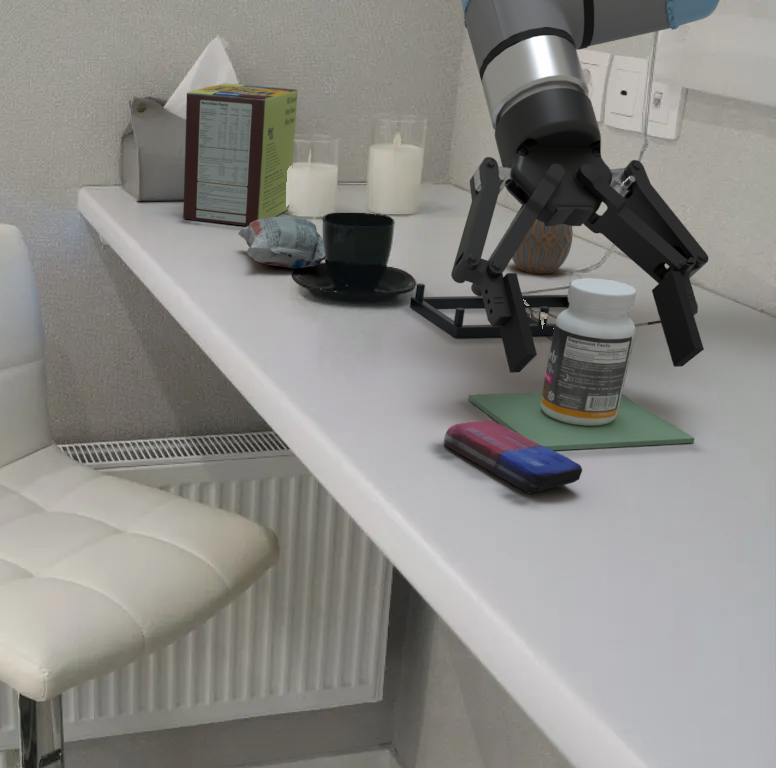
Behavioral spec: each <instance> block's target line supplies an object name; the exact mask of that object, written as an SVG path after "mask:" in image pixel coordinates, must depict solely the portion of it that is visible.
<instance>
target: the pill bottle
mask: <svg viewBox="0 0 776 768" xmlns="http://www.w3.org/2000/svg"><path fill="white" fill-rule="evenodd" d="M570 282H571V283H570ZM570 282H569V285H570V287H569V286H568V291H569V292H568V291H567V295H568V302H569V303H570V304H569V307H567V308H566V309H564V310H562V311H561V312H560V313H559V314H558V315H557V317H556V319H555V322H554V323H555V324H554V332H553V335H552V337H551V343H550V349H549V355H548V360H547V364H546V371H545V375H544V381H543V387H542V392H543V393H542V399H541V408H542V410H543V411H544V412H545V413H546V414H547V415H548V416H550V417H552V418H554V419H556V420H559V421H561V422H565V423H569V424H574V425H582V426H597V425H603V424H607V423H610V422H611V421H613V420H614V419H615V418H616V416H617V412H618V409H619V404H620V401H621V396H622V395H623V391H624V389H625V388H624V387H625V382H626V378H627V372H628V368H629V362H630V357H631V354H632V351H633V345H634V340H635V335H636V326H635V323H634V321H633V320H632V318H631V317H630V316H629V312H630V311H631V310H632V308H634V306H635V302H636V297H637V289H636V288H635V287H634V286H632V285H629V284H627V283H624V282H621V281H616V280H612V279H606V278H605V279H604V278H595V277H592V278H591V277H590V278H589V277H585V278H576V279H574V280H571V281H570Z"/></svg>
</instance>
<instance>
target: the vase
mask: <svg viewBox="0 0 776 768" xmlns="http://www.w3.org/2000/svg"><path fill="white" fill-rule="evenodd" d="M573 234H574V231H573V226H569V225H565V224H559V225H556V226H545V225H544V223H543V222H540V221H539V220H537V219H536V220H535V222H534V223H533V225H532V226H531V228H530V230H529V231H528V233H527V234H526V236H525V238H524V239H523V241H522V243H521V244H520V246H519V247H518V249H517V251H516V252H515V254H514V255H513V257H512V259H511V260H512V261H513V264H514V265H515V266H516V267H517V269H519V270H520V271H523V272H526V273H530V274H537V275H538V274H539V275H548V274H552V273H554V272H555V271H557V270H558V269H560V268H561V267H562V265H563V264H564V263H565V261H566V260H567V258H568V256H569V254H570V252H571V247H572V244H573V236H574V235H573Z"/></svg>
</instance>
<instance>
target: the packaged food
mask: <svg viewBox="0 0 776 768" xmlns="http://www.w3.org/2000/svg"><path fill="white" fill-rule="evenodd" d="M237 235H238V236H240V238H242V239H244V240H245V242H246V243H245V244H246V245H247V246H248V248H247V255H248V256H249V257H250V258H252V259H253V260H254V261H255V262H258V263H260V264H263V265H268V266H274V267H281V268H288V269H294V270H295V269H296V270H299V269H298V268H301V269H302V267H300V266H304V265H312V264H319V265H320V264H321V263H322V261H325V260H326V258H325V254H324V246H325V243H324V244H323V242H324V239H323V237H322V235H320V233H319V232H318V230H317V226H316V224H314V222H312V221H311V220H308V219H306V218H302V217H298V216H292V215H289V216H288V215H284V216H282V215H281V216H279V215H277V216H276V217H269V218H263V219H259V220H255V221H254V222H251V223H250V225H249V226H245V227H243V228H242V229H239V232H238V233H237ZM301 269H300V270H301Z"/></svg>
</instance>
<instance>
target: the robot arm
mask: <svg viewBox="0 0 776 768" xmlns="http://www.w3.org/2000/svg"><path fill="white" fill-rule="evenodd" d="M720 1H721V0H461V1H460V2H461V6H462V10H463V18H464V19H463V24H464V28H465V29H466V31H467V34H468V38H469V40H470V41H469V42H470V44H471V49H472V53H473V56H474V59H475V62H476V68H477V70H478V74H479V78H480V82H481V85H482V91H483V94H484V98H485V102H486V106H487V110H488V113H489V117H490V121H491V126H492V129H493V130H494V140H495V143H496V147H497V151H498V155H499V160H500V164H501V166H499V163H498V162H497V160H496V159H495V158H494V157H491V156H486V157H484V158H483V160H482V161H481V163H480V164H479V166H478V167H477V169H476V170H475V171H474V173H473V175H472V176H471V178H470V179H469V189H470V197H471V202H470V203H471V204H470V207H469V211H468V214H467V217H466V221H465V224H464V228H463V232H462V235H461V237H460V242H459V245H458V248H457V252H456V255H455V259H454V263H453V266H452V270H451V273H450V274H451V278H452V280H453V281H454V282H455V283H457V284H464V283H466V282H468V283H471V287H470V289H471V291H472V294H474V296H482V297H483V301H484V306H485V309H484V310H485V312H486V318H487V321H488V323H489V325H491V326H499V329H500V333H501V337H500V338H501V341H502V344H503V345H502V346H503V349H504V353H505V358H506V361H507V367H508V369H509V373H510V374H511V373H512V374H513V373H521V371H522V370H524V369H525V368H526V367H527V366H528V364H529V363H530V362H531V361H532V360H533V359H534V358H535V357H536V356H537V355H538V352H537V350H536V346H535V342H534V341H535V340H534V336H532V333H531V329H530V325H529V321H528V317H527V313H528V312H527V310H526V307H525V305H524V301H523V297H522V295H523V294H522V293H523V292H522V290H521V286H520V282H519V278H518V274H517V272H507V273H505V274H504V272H505V270H506V268H507V267H508V265H509V263H510V262H511V260H513V259H512V257H513V255H514V254H515V252H516V251H517V249H518V247H519V246H520V244H521V243H522V241H523V239H524V238H525V236H526V234H527V233H528V231H529V230H530V228H531V226H532V225H533V223H534V222H535V220H536V219H537V220H539V221H540V222H543V223H544V225H545V226H556V225H559V224H565V225H569V226H572V227H581V226H583V225H584V226H585V227H586V228H587V229H588V230H590V231H591V233H594V234H601V235H603V236H604V237H605V238H606V239H607V240H608V241H610V242H611V243H612V244H613V245H614V246H615V247H616V248H618V249H619V250H620V252H622V253H623V254H624V255H625V256H627V257H628V258H629V260H631V261H632V262H634V263H635V264H636V265H637V267H639V268H641V270H642V271H644V272H645V273H646V274H647V275H648V276H650V278H652V279H653V280H654V281H655V282H656V283H658V284H657V285H656V286H654V288H653V289H651V293H652V296H653V300H654V303H655V306H656V311H657V313H658V314H657V315H658V317H659V321H660V325H661V328H662V331H663V334H664V338H665V341H666V344H667V349H668V351H669V355H670V359H671V362H672V365H673V367H684V366H686V364H687V363H689V362H690V361H691V360H692V359H694V358H695V357H696V356H698V355H699V354H700V353H701V352H703V351H705V350H704V349H705V347H704V345H703V342H702V339H701V338H702V337H701V335H700V332H699V329H698V325H697V322H696V319H695V318H696V317H695V316H696V315H697V314H698V310H699V306H698V302H697V300H696V299H697V298H696V296H695V292H694V289H693V286H692V285H693V284H692V282H691V277H693V276H694V275H695V274H696V273H697V272H699V271H700V270H701V269H702V268H703V267H704V266H705V265H706V264H707V263H708V262H709V255H708V253H707V252H706V251H705V250H704V249H703V248H702V246H701V245H700V244H699V242H698V241H697V240H696V239H695V237H694V236H693V235H692V233H691V232H690V231H689V229H687V228H686V226H685V225H684V224H683V223H682V221H681V220H680V219H679V217H678V216H677V215H676V213H675V212H674V211H673V210H672V208H671V207H670V206H669V204H668V203H667V202H666V201H665V200H664V198H663V197H662V196H661V195H660V193H659V192H658V191H657V190H656V188H654V186H653V185H652V184H651V181H650V179H649V176H648V174H647V171H646V169H645V166H644V165H643V163H642V162H641V161H640V160H637V159H632V160H631V161H629V162H628V164H627V165H626V167H625V166H624V167H619V168H610V167H609V165H608V164H607V163H606V162H605V161H604V159H603V158H602V151H601V150H602V137H601V136H602V134H601V131H600V127H599V124H598V120H597V117H596V114H595V109H594V107H593V103H592V100H591V98H590V97H589V95H590V94H589V93H590V91H589V87H588V84H587V81H586V77H585V74H584V71H583V67H582V63H581V61H580V58H579V57H580V56H579V54H578V51H579V50H584V49H587V48H589V47H592V46H597V45H602V44H605V43H609V42H614V41H620V40H623V39H628V38H633V37H637V36H642V35H647V34H651V33H655V32H660V31H664V30H669V29H671V30H672V31H673V30H677V29H678V28H679V27H680V26H684V25H687V24H690V23H693V22H698V21H700V20H704V19H706V18H708V17H710V16H711V15H712V14H713V13H714V12H715V10H716V9H717V7H718V6H719V3H720ZM503 189H506V191H507V192H508V193H509V194H510V195H511V196H512V197H513V198H514V199H515V200H516V201H517V202H518V203H519V204H520V205H521V206H520V208H519V210H518V211H517V212H516V214H515V216H514V218H513V219H512V221H511V222H510V224H509V226H508V228H507V229H506V231H505V233H504V234H503V236H502V237H501V239H500V240H499V242H498V244H497V245H496V247H495V249H494V250H493V252H492V253H491V255H490V257H488V259H487V260H486V259H484V258H482V256H483V252H484V249H485V245H486V242H487V238H488V234H489V230H490V228H491V224H492V219H493V216H494V212H495V209H496V205H497V202H498V198H499V195H500V194H501V192H502V191H503ZM602 203H603V204H605V206H606V210H605V211H604V212H603V213H602V214H601V215H600V214H598V213H597V212H598V211H599V209H600V207H601V205H602ZM666 265H667V266H668V267H666ZM526 312H527V313H526Z"/></svg>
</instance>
